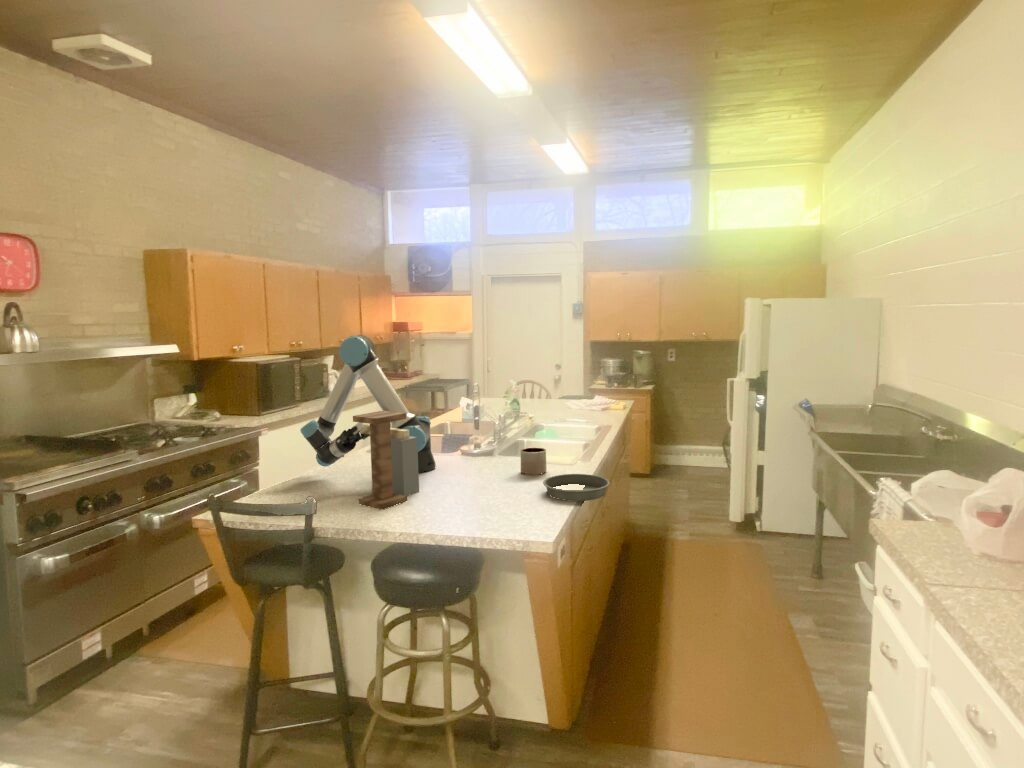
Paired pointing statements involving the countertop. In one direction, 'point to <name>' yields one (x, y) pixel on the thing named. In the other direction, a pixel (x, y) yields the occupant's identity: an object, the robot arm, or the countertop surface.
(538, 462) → the planter
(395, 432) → the birch bar
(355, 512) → the countertop surface
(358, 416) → the walnut stand
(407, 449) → the slate block
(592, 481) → the cake pan
